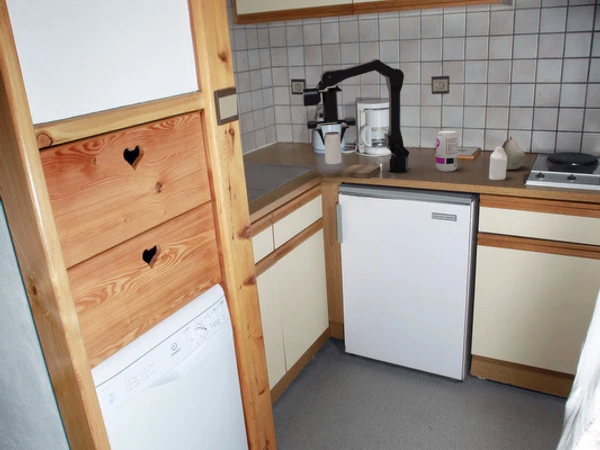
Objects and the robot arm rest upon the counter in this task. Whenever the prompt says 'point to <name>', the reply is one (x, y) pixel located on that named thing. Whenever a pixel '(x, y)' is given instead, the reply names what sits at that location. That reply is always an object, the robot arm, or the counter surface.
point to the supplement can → (447, 150)
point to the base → (360, 171)
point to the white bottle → (498, 164)
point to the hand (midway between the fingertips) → (332, 144)
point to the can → (332, 148)
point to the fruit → (513, 154)
